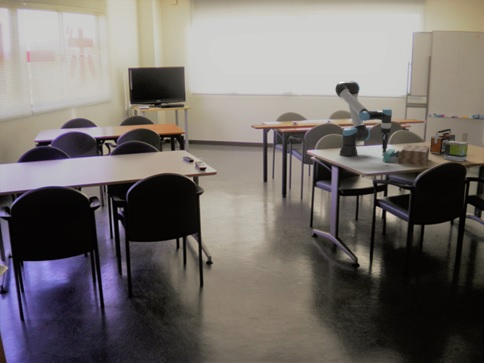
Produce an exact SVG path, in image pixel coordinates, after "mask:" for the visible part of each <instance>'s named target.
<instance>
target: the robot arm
mask: <svg viewBox="0 0 484 363" xmlns="http://www.w3.org/2000/svg"><path fill="white" fill-rule="evenodd" d="M360 89H361V88H360V85H359V84H358V82H357V81H353V80H351V81H340V82H338V83H337V84H336V86H335V93H336V95H337V96H338V98H339V99H342V100H344V102H345V103H347V104H348V109H349V112H350V116H351V121H352V125H353V126H350V127H349V126H348V127H345V128H343V131H342V141H341V143H342V145H341V147H340V150H339V155H340V156H342V155H343V157H356V156H358V154H359V152H358V149H357V143H359V142H360V143H361V142H366V141H368V140H369V139H370V137H371V131H370V128H368V127H367V126H366V124H365V123H364V121H368V122H369V121H375V120H377V121H381V128H380V133H381V134H382V133H383V135H382V137H381V138H382V144H381V146H382V147H381V149H382V155H381V156H382V157H383V156H384V153H385V152H386V151H387V149H388V140H389V134H390V133H391V131H392V130H391V127H392V125H393V124H392V115H393V112H392V111H393V110H392V109H391V108H382V110H377V109H373V110H368V109H367V108H366V107H365V106H364V105H363V104H362V103H361V102H360V101H359V99H358V96H359V92H360Z"/></svg>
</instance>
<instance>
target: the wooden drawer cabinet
mask: <svg viewBox="0 0 484 363" xmlns="http://www.w3.org/2000/svg"><path fill="white" fill-rule="evenodd" d="M398 151H399V157H398V162H397V164H401V165H402V164H403V165H411V166H419V167H420V166H421V167H422V166H423V167H424V166H425V165H426V164H427V163H428V161H429V155H430V146H428V145H417V144H415V145H414V144H406V145H405V146H403V148H402V150H398ZM400 151H402V152H400Z"/></svg>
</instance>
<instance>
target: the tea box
mask: <svg viewBox="0 0 484 363" xmlns="http://www.w3.org/2000/svg"><path fill="white" fill-rule="evenodd" d="M468 147H469V143H468V142H466V141H465V142H464V141H456V140H455V141H448V142H446V143H445V152H444V153H443V154H444V156H443V159H444V160H450V161H457V162H464V160H465V161H467V158H468V157H467V156H468Z"/></svg>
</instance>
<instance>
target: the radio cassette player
mask: <svg viewBox="0 0 484 363" xmlns="http://www.w3.org/2000/svg"><path fill="white" fill-rule="evenodd" d="M455 139H456V134H452V128H447V129H442V130H441V129H440V130H437V131H436V132H435V135H434V136H431V137H430V147H429V153H431V154H437V155H442V154H444V152H445V143H446V142H448V141H456V140H455Z"/></svg>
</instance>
